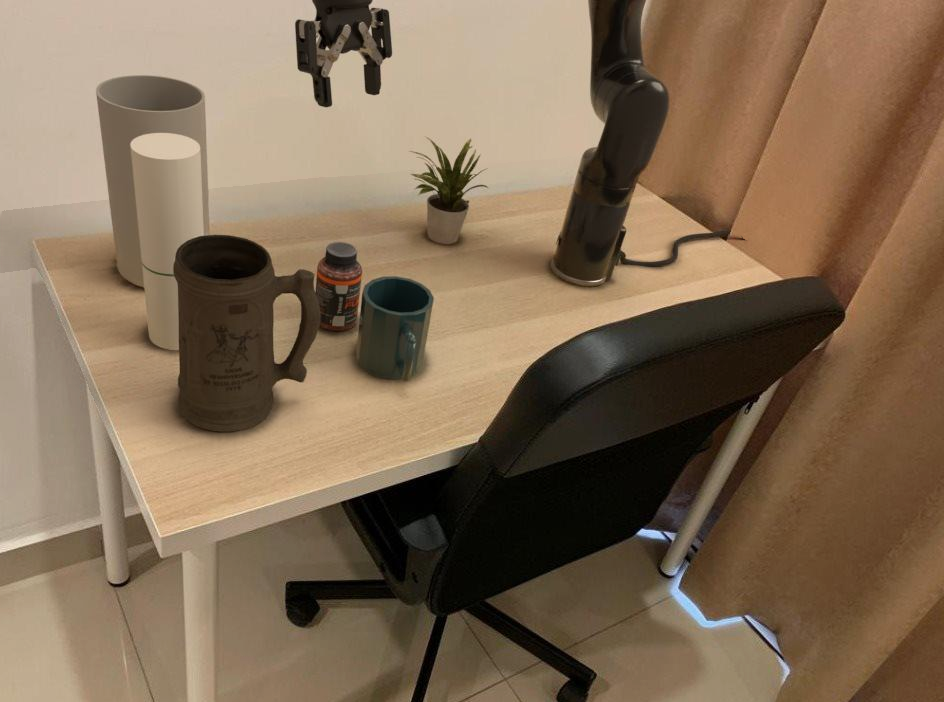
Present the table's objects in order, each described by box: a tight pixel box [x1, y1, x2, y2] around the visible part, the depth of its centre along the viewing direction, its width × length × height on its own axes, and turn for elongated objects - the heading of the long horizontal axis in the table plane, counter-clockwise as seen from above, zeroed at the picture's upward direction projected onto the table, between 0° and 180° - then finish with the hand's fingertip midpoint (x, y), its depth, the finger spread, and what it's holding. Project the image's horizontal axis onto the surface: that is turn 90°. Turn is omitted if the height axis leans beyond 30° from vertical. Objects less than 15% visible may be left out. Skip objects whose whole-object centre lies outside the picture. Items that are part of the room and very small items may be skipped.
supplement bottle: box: [315, 241, 363, 332], centre depth 103 cm, size 6×6×11 cm
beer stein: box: [173, 234, 321, 432], centre depth 85 cm, size 15×11×20 cm
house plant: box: [409, 136, 489, 245], centre depth 127 cm, size 14×14×16 cm
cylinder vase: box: [95, 74, 211, 288], centre depth 102 cm, size 12×12×25 cm
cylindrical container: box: [130, 133, 204, 351], centre depth 91 cm, size 7×7×25 cm
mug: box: [355, 275, 435, 382], centre depth 97 cm, size 12×9×10 cm
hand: (349, 99), depth 102 cm, fingers open, 8 cm apart
